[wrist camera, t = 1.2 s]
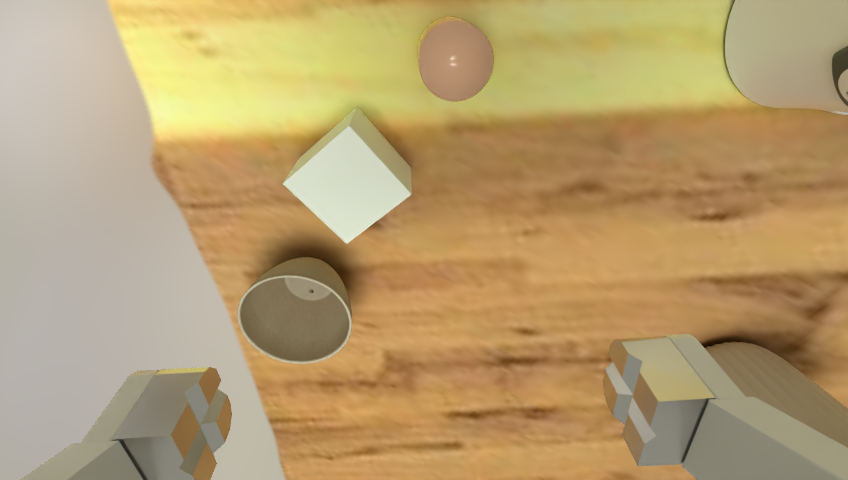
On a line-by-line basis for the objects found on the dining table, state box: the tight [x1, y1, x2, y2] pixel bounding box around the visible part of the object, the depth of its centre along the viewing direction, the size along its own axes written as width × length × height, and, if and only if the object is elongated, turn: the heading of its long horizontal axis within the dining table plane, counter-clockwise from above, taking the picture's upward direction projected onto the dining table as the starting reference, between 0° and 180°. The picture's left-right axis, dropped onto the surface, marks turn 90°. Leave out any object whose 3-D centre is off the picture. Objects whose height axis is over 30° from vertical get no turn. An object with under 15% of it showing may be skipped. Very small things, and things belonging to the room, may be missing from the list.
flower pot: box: [237, 257, 352, 364], centre depth 42 cm, size 10×10×7 cm
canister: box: [705, 342, 848, 448], centre depth 45 cm, size 18×18×21 cm
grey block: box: [283, 107, 412, 244], centre depth 36 cm, size 7×7×6 cm
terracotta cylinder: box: [418, 17, 493, 101], centre depth 32 cm, size 5×5×6 cm
